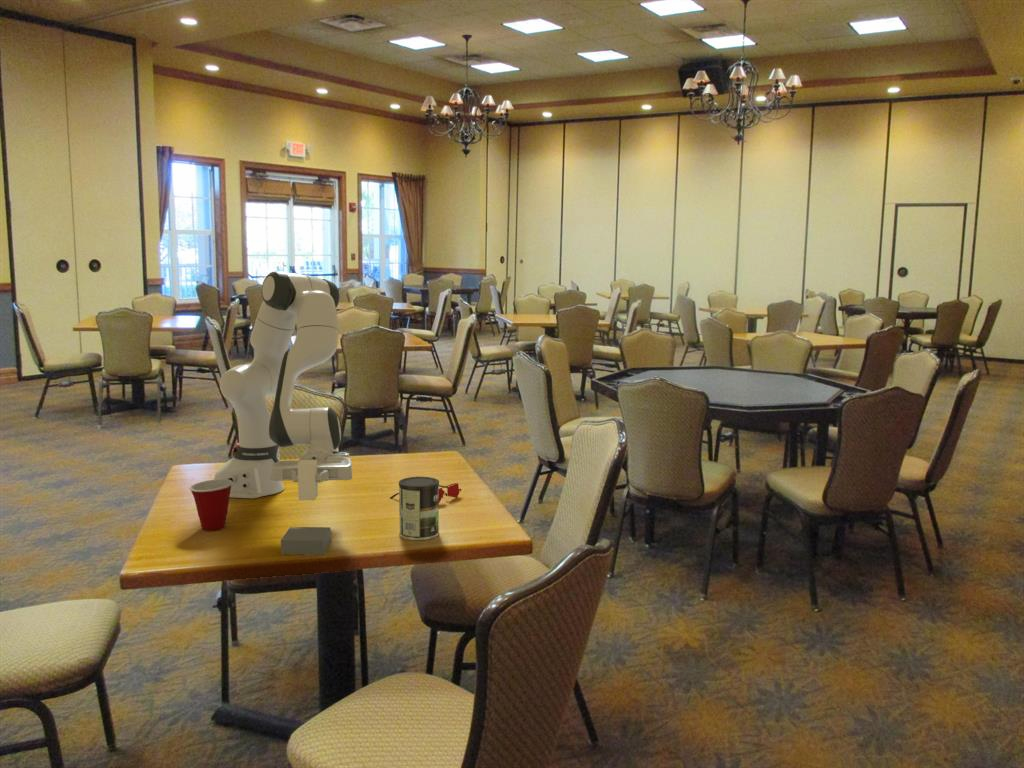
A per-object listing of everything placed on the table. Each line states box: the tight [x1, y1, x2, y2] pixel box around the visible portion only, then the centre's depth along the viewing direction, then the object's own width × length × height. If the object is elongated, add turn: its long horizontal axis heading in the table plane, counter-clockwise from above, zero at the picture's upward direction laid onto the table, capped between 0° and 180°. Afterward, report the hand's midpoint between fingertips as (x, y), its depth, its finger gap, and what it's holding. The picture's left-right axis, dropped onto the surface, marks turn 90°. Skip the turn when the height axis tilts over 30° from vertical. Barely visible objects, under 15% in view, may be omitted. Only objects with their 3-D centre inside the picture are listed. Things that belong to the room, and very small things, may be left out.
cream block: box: [297, 460, 319, 501], centre depth 210 cm, size 4×4×9 cm
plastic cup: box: [188, 479, 233, 532], centre depth 224 cm, size 11×11×12 cm
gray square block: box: [280, 526, 332, 556], centre depth 211 cm, size 10×10×4 cm
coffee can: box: [398, 476, 440, 541], centre depth 222 cm, size 10×10×14 cm
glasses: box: [389, 482, 462, 504], centre depth 256 cm, size 14×16×5 cm
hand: (307, 478), depth 209 cm, fingers closed on cream block, 4 cm apart
